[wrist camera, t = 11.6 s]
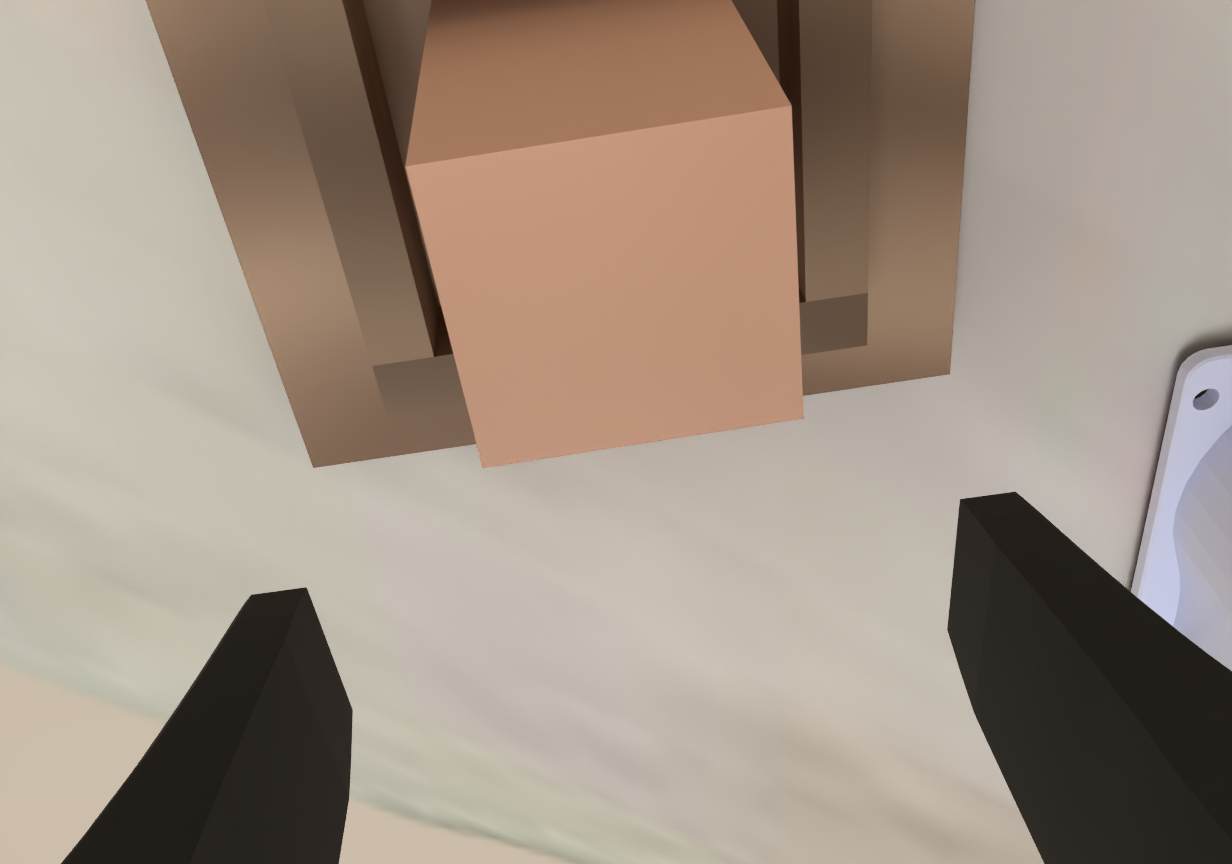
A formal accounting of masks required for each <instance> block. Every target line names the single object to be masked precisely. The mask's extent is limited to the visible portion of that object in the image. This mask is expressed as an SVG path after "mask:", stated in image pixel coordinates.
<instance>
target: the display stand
mask: <svg viewBox="0 0 1232 864" xmlns="http://www.w3.org/2000/svg"><path fill="white" fill-rule="evenodd" d="M732 2H733V4H734V6H735V7H736V9H737V11H738V13H739V14H740V16H741V18H742V20H743V21H744V23H745V25H746V27H747V28H748V30H749V32H750V34H751V35H752V37H753V39H754V41H755V42H756V44H757V46H758V48H759V49H760V51H761V53H762V55H763V56H764V58H765V60H766V62H767V63H768V65H769V67H770V69H771V70H772V72H773V74H774V76H775V77H776V79H777V81H778V83H779V84H780V86H781V88H782V90H783V91H784V93H785V95H786V97H787V98H788V100H789V102H790V104H791V105H792V128H793V155H794V181H795V207H796V233H797V259H798V286H799V312H800V338H801V364H802V391H803V396H804V395H811V394H818V393H825V392H831V391H838V390H845V389H852V388H859V387H865V386H872V385H879V384H886V383H893V382H899V381H906V380H913V379H920V378H926V377H933V376H940V375H947V374H950V364H951V349H952V335H953V320H954V305H955V290H956V276H957V261H958V246H959V231H960V217H961V202H962V187H963V172H964V158H965V143H966V128H967V113H968V98H969V84H970V69H971V54H972V39H973V25H974V10H975V0H732ZM146 3H147V5H148V8H149V11H150V14H151V17H152V19H153V22H154V25H155V28H156V30H157V33H158V36H159V39H160V42H161V44H162V47H163V50H164V53H165V56H166V58H167V61H168V64H169V67H170V70H171V72H172V75H173V78H174V81H175V83H176V86H177V89H178V92H179V95H180V97H181V100H182V103H183V106H184V109H185V111H186V114H187V117H188V120H189V122H190V125H191V128H192V131H193V134H194V136H195V139H196V142H197V145H198V148H199V150H200V153H201V156H202V159H203V162H204V164H205V167H206V170H207V173H208V175H209V178H210V181H211V184H212V187H213V189H214V192H215V195H216V198H217V201H218V203H219V206H220V209H221V212H222V215H223V217H224V220H225V223H226V226H227V228H228V231H229V234H230V237H231V240H232V242H233V245H234V248H235V251H236V254H237V256H238V259H239V262H240V265H241V267H242V270H243V273H244V276H245V279H246V281H247V284H248V287H249V290H250V293H251V295H252V298H253V301H254V304H255V307H256V309H257V312H258V315H259V318H260V320H261V323H262V326H263V329H264V332H265V334H266V337H267V340H268V343H269V346H270V348H271V351H272V354H273V357H274V359H275V362H276V365H277V368H278V371H279V373H280V376H281V379H282V382H283V385H284V387H285V390H286V393H287V396H288V399H289V401H290V404H291V407H292V410H293V412H294V415H295V418H296V421H297V424H298V426H299V429H300V432H301V435H302V438H303V440H304V443H305V446H306V449H307V452H308V454H309V457H310V460H311V463H312V465H313V468H315V467H322V466H329V465H336V464H343V463H349V462H356V461H363V460H370V459H376V458H383V457H390V456H397V455H404V454H410V453H417V452H424V451H431V450H438V449H444V448H451V447H458V446H465V445H472V444H476V440H475V436H474V432H473V428H472V424H471V420H470V416H469V413H468V409H467V405H466V401H465V397H464V393H463V389H462V385H461V381H460V378H459V374H458V370H457V366H456V362H455V358H454V354H453V350H452V346H451V342H450V339H449V335H448V331H447V327H446V323H445V319H444V315H443V311H442V307H441V304H440V300H439V296H438V292H437V288H436V284H435V280H434V276H433V272H432V269H431V265H430V261H429V257H428V253H427V249H426V245H425V241H424V237H423V234H422V230H421V226H420V222H419V218H418V214H417V210H416V206H415V202H414V198H413V195H412V191H411V187H410V183H409V179H408V175H407V171H406V167H405V165H406V159H407V153H408V146H409V140H410V134H411V127H412V121H413V114H414V108H415V102H416V95H417V89H418V83H419V76H420V70H421V64H422V57H423V51H424V45H425V38H426V32H427V26H428V19H429V13H430V7H431V0H146Z"/></svg>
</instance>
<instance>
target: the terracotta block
mask: <svg viewBox="0 0 1232 864" xmlns="http://www.w3.org/2000/svg"><path fill="white" fill-rule="evenodd" d="M405 167H406V171H407V175H408V179H409V183H410V187H411V191H412V195H413V198H414V202H415V206H416V210H417V214H418V218H419V222H420V226H421V230H422V234H423V237H424V241H425V245H426V249H427V253H428V257H429V261H430V265H431V269H432V272H433V276H434V280H435V284H436V288H437V292H438V296H439V300H440V304H441V307H442V311H443V315H444V319H445V323H446V327H447V331H448V335H449V339H450V342H451V346H452V350H453V354H454V358H455V362H456V366H457V370H458V374H459V378H460V381H461V385H462V389H463V393H464V397H465V401H466V405H467V409H468V413H469V416H470V420H471V424H472V428H473V432H474V436H475V440H476V444H477V448H478V451H479V455H480V459H481V463H482V467H483V468H486V467H493V466H499V465H506V464H512V463H519V462H525V461H532V460H538V459H544V458H551V457H557V456H564V455H570V454H577V453H583V452H590V451H596V450H602V449H609V448H615V447H622V446H628V445H635V444H641V443H648V442H654V441H660V440H667V439H673V438H680V437H686V436H693V435H699V434H706V433H712V432H719V431H725V430H731V429H738V428H744V427H751V426H757V425H764V424H770V423H777V422H783V421H789V420H796V419H802V418H804V417H803V391H802V364H801V338H800V312H799V286H798V259H797V233H796V207H795V181H794V155H793V128H792V105H791V104H790V102H789V100H788V98H787V97H786V95H785V93H784V91H783V90H782V88H781V86H780V84H779V83H778V81H777V79H776V77H775V76H774V74H773V72H772V70H771V69H770V67H769V65H768V63H767V62H766V60H765V58H764V56H763V55H762V53H761V51H760V49H759V48H758V46H757V44H756V42H755V41H754V39H753V37H752V35H751V34H750V32H749V30H748V28H747V27H746V25H745V23H744V21H743V20H742V18H741V16H740V14H739V13H738V11H737V9H736V7H735V6H734V4H733V2H732V0H431V7H430V13H429V19H428V26H427V32H426V38H425V45H424V51H423V57H422V64H421V70H420V76H419V83H418V89H417V95H416V102H415V108H414V114H413V121H412V127H411V134H410V140H409V146H408V153H407V159H406V165H405Z"/></svg>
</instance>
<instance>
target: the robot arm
mask: <svg viewBox="0 0 1232 864" xmlns="http://www.w3.org/2000/svg"><path fill="white" fill-rule="evenodd" d="M1206 389H1208V390H1207V392H1206V393H1205V394H1203V395H1202V396H1201V397H1199V398H1196V399H1194V398H1195V396H1196V395H1197V394H1199V393H1200V392H1201V391H1203V390H1206ZM947 630H948V633H949V636H950V639H951V643H952V646H953V649H954V652H955V655H956V659H957V662H958V665H959V668H960V672H961V675H962V678H963V681H964V684H965V687H966V690H967V693H968V696H969V699H970V702H971V705H972V707H973V710H974V713H975V715H976V718H977V720H978V722H979V724H980V726H981V729H982V731H983V733H984V735H985V737H986V740H987V742H988V744H989V746H990V748H991V750H992V753H993V755H994V757H995V759H996V761H997V763H998V766H999V768H1000V770H1001V772H1002V774H1003V776H1004V779H1005V781H1006V783H1007V785H1008V787H1009V789H1010V791H1011V793H1012V795H1013V798H1014V800H1015V802H1016V804H1017V806H1018V808H1019V810H1020V812H1021V815H1022V817H1023V819H1024V821H1025V823H1026V825H1027V827H1028V829H1029V832H1030V834H1031V836H1032V838H1033V840H1034V842H1035V844H1036V846H1037V849H1038V851H1039V853H1040V855H1041V857H1042V859H1043V861H1044V863H1045V864H1232V345H1228V346H1221V347H1215V348H1208V349H1204V350H1201V351H1197V352H1196V353H1194V354H1192V355H1191V356H1189V357H1188V358H1187V359H1186V360H1185V361H1184V362H1183V363H1182V364H1181V366H1180V368H1179V371H1178V373H1177V377H1176V382H1175V387H1174V391H1173V396H1172V401H1171V405H1170V410H1169V415H1168V420H1167V424H1166V429H1165V434H1164V438H1163V443H1162V448H1161V453H1160V457H1159V462H1158V467H1157V471H1156V476H1155V481H1154V485H1153V490H1152V495H1151V500H1150V504H1149V509H1148V514H1147V518H1146V523H1145V528H1144V533H1143V537H1142V542H1141V547H1140V551H1139V556H1138V561H1137V565H1136V570H1135V575H1134V580H1133V584H1132V589H1131V592H1130V591H1129V590H1128V589H1127V588H1125V587H1124V586H1123V585H1122V584H1121V583H1119V582H1118V581H1117V580H1116V579H1115V578H1114V577H1112V576H1111V575H1110V574H1109V573H1108V572H1107V571H1105V570H1104V569H1103V568H1102V567H1101V566H1100V565H1099V564H1097V563H1096V562H1095V561H1094V560H1093V559H1092V558H1090V557H1089V556H1088V555H1087V554H1086V553H1085V552H1084V551H1082V550H1081V549H1080V548H1079V547H1078V546H1077V545H1076V544H1075V543H1073V542H1072V541H1071V540H1070V539H1069V538H1068V537H1067V536H1065V535H1064V534H1063V533H1062V532H1061V531H1060V530H1059V529H1058V528H1057V527H1055V526H1054V525H1053V524H1052V523H1051V522H1050V521H1049V520H1048V519H1046V518H1045V517H1044V516H1043V515H1042V514H1041V513H1040V512H1039V511H1037V510H1036V509H1035V508H1034V507H1033V506H1032V505H1031V504H1029V503H1028V502H1027V501H1026V500H1025V499H1024V498H1022V497H1021V496H1020V495H1019V494H1018V493H1016V492H1011V493H1003V494H996V495H988V496H981V497H974V498H966V499H960V506H959V516H958V526H957V537H956V547H955V557H954V568H953V578H952V588H951V598H950V609H949V619H948V629H947ZM351 743H352V707H351V705H350V702H349V699H348V697H347V694H346V691H345V689H344V686H343V683H342V681H341V678H340V675H339V673H338V670H337V667H336V665H335V662H334V659H333V657H332V654H331V651H330V649H329V646H328V643H327V641H326V638H325V635H324V633H323V630H322V627H321V625H320V622H319V619H318V617H317V614H316V611H315V609H314V606H313V603H312V601H311V598H310V595H309V593H308V590H307V588H299V589H292V590H284V591H277V592H269V593H262V594H255V595H251V596H250V597H249V599H248V600H247V601H246V602H245V604H244V605H243V607H242V608H241V610H240V611H239V613H238V614H237V616H236V617H235V619H234V620H233V622H232V624H231V625H230V627H229V628H228V630H227V631H226V633H225V635H224V636H223V638H222V639H221V641H220V642H219V644H218V646H217V647H216V649H215V650H214V652H213V653H212V655H211V657H210V658H209V660H208V661H207V663H206V664H205V666H204V667H203V669H202V670H201V672H200V674H199V675H198V677H197V678H196V680H195V681H194V683H193V684H192V686H191V687H190V689H189V690H188V692H187V693H186V695H185V696H184V698H183V699H182V701H181V702H180V704H179V705H178V707H177V708H176V710H175V711H174V713H173V714H172V715H171V717H170V718H169V720H168V721H167V723H166V724H165V726H164V727H163V729H162V730H161V732H160V733H159V735H158V736H157V737H156V739H155V740H154V742H153V743H152V745H151V746H150V747H149V749H148V750H147V752H146V753H145V755H144V756H143V758H142V759H141V760H140V762H139V763H138V765H137V766H136V767H135V769H134V770H133V772H132V773H131V774H130V775H129V777H128V778H127V779H126V781H125V782H124V783H123V785H122V786H121V787H120V789H119V790H118V791H117V793H116V794H115V795H114V797H113V798H112V799H111V800H110V802H109V803H108V804H107V806H106V807H105V808H104V810H103V811H102V813H101V814H100V815H99V816H98V818H97V819H96V820H95V822H94V823H93V824H92V826H91V827H90V828H89V830H88V831H87V832H86V834H85V835H84V836H83V837H82V838H81V840H80V841H79V842H78V844H77V845H76V846H75V847H74V848H73V850H72V851H71V852H70V853H69V855H68V856H67V857H66V858H65V859H64V861H63V862H62V863H61V864H339V857H340V851H341V845H342V839H343V833H344V826H345V820H346V814H347V807H348V801H349V788H350V769H351Z"/></svg>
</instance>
